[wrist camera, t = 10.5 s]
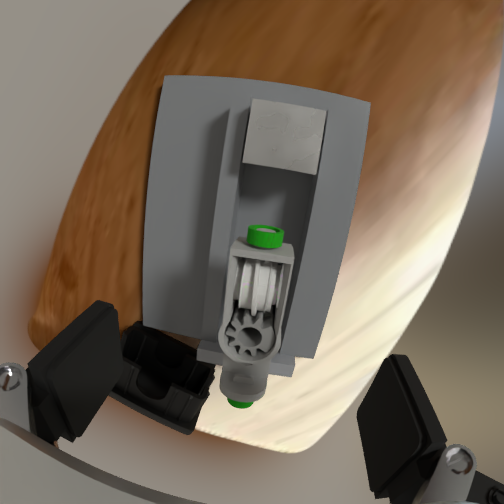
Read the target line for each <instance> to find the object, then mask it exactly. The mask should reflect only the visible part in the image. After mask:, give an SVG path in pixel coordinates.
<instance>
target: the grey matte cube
mask: <svg viewBox="0 0 504 504" xmlns="http://www.w3.org/2000/svg"><path fill="white" fill-rule="evenodd" d="M325 117H326V111H324V110H320V109H315V108H310V107H304V106H299V105H293V104H287V103H281V102H275V101H268V100H260V99H253V100H252V106H251V112H250V118H249V124H248V130H247V136H246V142H245V149H244V155H243V161H242V162H243V163H249V164H256V165H262V166H268V167H274V168H280V169H286V170H292V171H297V172H302V173H308V174H313V175H316V173H317V168H318V162H319V156H320V149H321V143H322V137H323V130H324V124H325Z"/></svg>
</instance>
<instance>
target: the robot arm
mask: <svg viewBox="0 0 504 504" xmlns="http://www.w3.org/2000/svg"><path fill="white" fill-rule="evenodd" d="M123 370H124V364H123V357H122V350H121V341H120V332H119V322H118V312H117V310H116V309H114V306H113V305H112V304H110V303H107V302H103V301H100V300H97V301H95V302H94V303H93V304H92V305H91V306H90V307H89V308H87V309H86V310H85V311H84V312H83V313H82V314H81V315H79V316H78V317H77V318H76V319H75V320H74V321H73V322H72V323H70V324H69V325H68V326H67V327H66V328H65V329H64V330H63V331H62V332H60V333H59V334H58V335H57V336H56V337H55V338H54V339H53V340H52V341H51V342H50V343H49V344H48V345H46V346H45V347H44V348H43V349H42V350H41V351H40V352H39V353H38V354H37V355H36V356H35V357H34V358H33V359H32V360H31V361H30V362H29V363H28V368H27V369H26V370H25V369H24V368H23V367H22V366H21V365H19V364H16V363H4V364H1V365H0V504H205V503H200V502H196V501H192V500H187V499H184V498H179V497H176V496H173V495H169V494H165V493H162V492H159V491H156V490H152V489H150V488H146V487H143V486H141V485H138V484H135V483H132V482H130V481H127V480H124V479H122V478H119V477H117V476H114V475H112V474H109V473H107V472H105V471H103V470H100V469H98V468H96V467H94V466H91V465H90V464H87V463H85V462H83V461H81V460H79V459H77V458H75V457H73V456H71V455H69V454H67V453H65V452H63V451H62V450H60V449H59V447H58V442H57V440H58V439H59V437H60V436H61V437H63V438H65V439H67V440H68V441H70V442H74V440H75V439H76V437H80V436H82V434H83V433H84V431H85V430H86V428H87V427H88V425H89V424H90V422H91V420H92V419H93V417H94V416H95V414H96V413H97V411H98V410H99V408H100V406H101V405H102V404H103V402H104V401H105V399H106V398H107V396H108V395H109V393H110V392H111V390H112V389H113V387H114V386H115V384H116V383H117V381H118V380H119V378H120V377H121V375H122V373H123ZM357 422H358V426H359V431H360V436H361V441H362V447H363V452H364V457H365V463H366V469H367V474H368V480H369V486H370V490H371V491H372V492H374V495H375V499H379V498H387V497H389V499H390V504H504V485H503V484H501V483H499V482H497V481H495V480H493V479H492V478H490V477H488V476H485V475H484V474H482V473H480V472H478V471H476V466H477V462H476V458H475V456H474V454H473V453H472V451H471V450H470V449H469V448H467V447H466V446H463V445H460V444H453V445H450V446H448V447H446V444H445V442H446V441H447V439H446V436H445V434H444V431H443V429H442V427H441V425H440V422H439V420H438V418H437V416H436V413H435V411H434V409H433V407H432V405H431V403H430V400H429V398H428V396H427V394H426V392H425V390H424V388H423V386H422V384H421V382H420V380H419V378H418V376H417V374H416V372H415V370H414V368H413V366H412V364H411V362H410V360H409V358H408V357H407V356H406V355H397V354H392V355H390V356H389V357H388V358H385V359H384V361H383V362H382V365H381V367H380V369H379V371H378V373H377V375H376V377H375V379H374V381H373V383H372V384H371V386H370V388H369V390H368V392H367V394H366V396H365V398H364V399H363V401H362V403H361V405H360V407H359V408H358V411H357Z"/></svg>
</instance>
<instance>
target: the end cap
mask: <svg viewBox="0 0 504 504" xmlns="http://www.w3.org/2000/svg"><path fill="white" fill-rule="evenodd" d="M121 350H122V357H123V364H124V370H123V373H122V375H121V377H120V378H119V380H118V381H117V383H116V384H115V386H114V387H113V389H112V390H111V392H110V393H109V396H110V397H112V398H114V399H116V400H117V401H119V402H121V403H122V404H124V405H126V406H128V407H130V408H131V409H133V410H135V411H137V412H139V413H141V414H143V415H145V416H147V417H149V418H151V419H153V420H155V421H157V422H159V423H161V424H163V425H165V426H168V427H170V428H172V429H174V430H176V431H179V432H181V433H183V434H186V435H190V434H191V433H192V432H193V431H194V429H195V426H196V423H197V420H198V417H199V414H200V411H201V408H202V406H203V404H204V403H205V401H206V400H207V398H208V396H209V395H210V393H209V387H210V385H211V384H212V382H213V380H214V379H215V376H214V372H215V369H214V368H215V366H216V364H212V363H207V362H203V361H198V360H197V350H196V349H194V348H192V347H190V346H188V345H186V344H184V343H182V342H180V341H178V340H176V339H174V338H172V337H170V336H168V335H166V334H164V333H162V332H160V331H159V330H157V329H155V328H152V327H148V326H144V325H143V322H142V321H136V323H135V324H134V325H133V326H130V327H129V328H128V329H127V330H125V331H123V335H122V339H121Z"/></svg>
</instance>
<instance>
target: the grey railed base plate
mask: <svg viewBox="0 0 504 504" xmlns="http://www.w3.org/2000/svg"><path fill="white" fill-rule="evenodd" d="M253 99H260V100H268V101H275V102H281V103H287V104H293V105H299V106H304V107H310V108H315V109H320V110H324V111H326V117H325V124H324V130H323V137H322V143H321V149H320V156H319V162H318V168H317V173H316V175H313V174H308V173H302V172H297V171H292V170H286V169H280V168H274V167H268V166H262V165H256V164H249V163H243V162H242V161H243V155H244V149H245V142H246V136H247V130H248V124H249V118H250V112H251V106H252V100H253ZM370 104H371V103H369V102H366V101H362V100H358V99H355V98H351V97H347V96H343V95H339V94H334V93H330V92H325V91H321V90H316V89H311V88H305V87H300V86H294V85H288V84H282V83H275V82H267V81H260V80H251V79H241V78H229V77H213V76H179V75H173V76H165V77H164V82H163V87H162V92H161V97H160V103H159V108H158V114H157V120H156V126H155V133H154V140H153V147H152V154H151V162H150V171H149V180H148V190H147V201H146V214H145V229H144V250H143V325H144V326H148V327H152V328H155V329H159V330H163V331H167V332H171V333H175V334H179V335H184V336H188V337H192V338H197V339H201V341H200V344H199V346H198V348H197V360H198V361H203V362H207V363H212V364H217V365H221V366H223V357H224V352H223V350H222V349H221V347H220V344H219V340H218V333H219V330H220V327H221V325H222V322H223V314H224V304H225V294H226V284H227V275H228V265H229V256H230V248H231V246H232V244H233V243H234V241H235V240H236V239H238V237H246V238H247V233H248V226H250V225H268V226H273V227H277V228H280V229H282V230H284V236H283V242H282V243H286V244H292V247H293V251H294V257H295V258H294V263H293V269H292V274H291V280H290V285H289V290H288V296H287V301H286V306H285V311H284V316H283V321H282V326H281V345H280V349H279V351H278V353H277V354H276V355H275V356H274V357H273V358H272V359H271V363H270V368H269V373H268V374H272V375H279V376H286V377H292V374H293V371H294V367H295V356H296V357H304V358H312V359H313V358H314V355H315V352H316V349H317V346H318V343H319V340H320V337H321V333H322V330H323V327H324V324H325V320H326V317H327V314H328V310H329V307H330V303H331V300H332V296H333V293H334V289H335V285H336V281H337V278H338V274H339V270H340V266H341V262H342V258H343V254H344V250H345V246H346V241H347V237H348V233H349V228H350V224H351V219H352V214H353V210H354V205H355V200H356V195H357V189H358V184H359V179H360V173H361V167H362V161H363V155H364V149H365V142H366V135H367V128H368V121H369V113H370Z"/></svg>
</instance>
